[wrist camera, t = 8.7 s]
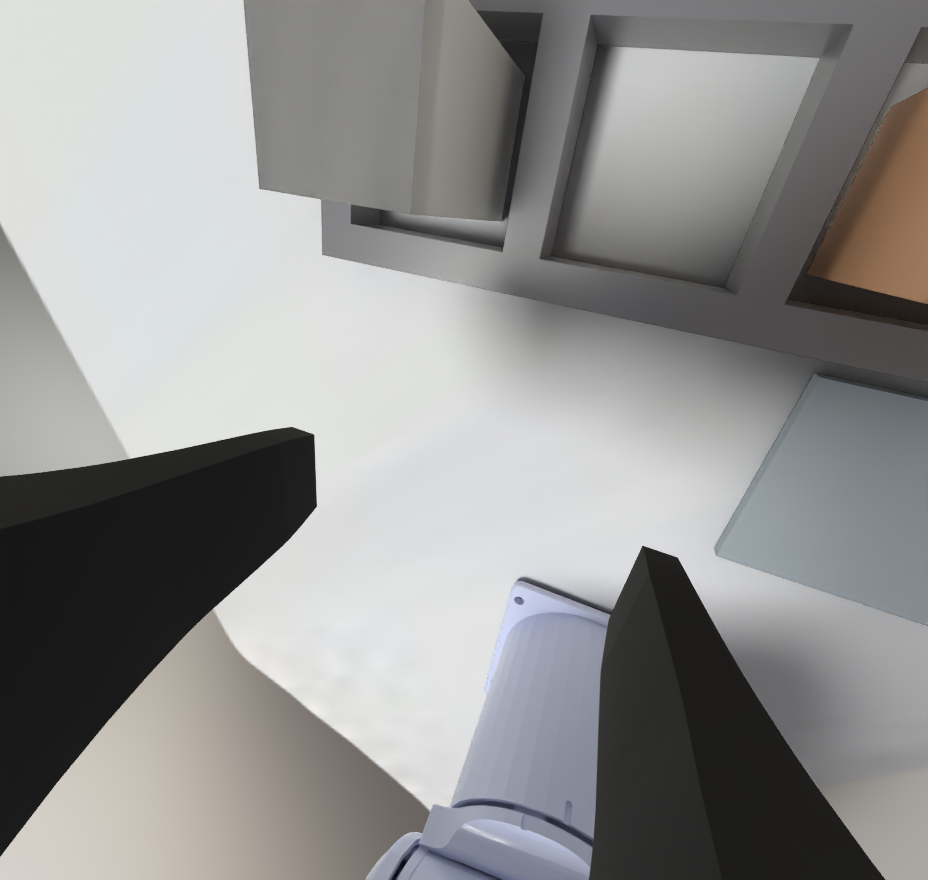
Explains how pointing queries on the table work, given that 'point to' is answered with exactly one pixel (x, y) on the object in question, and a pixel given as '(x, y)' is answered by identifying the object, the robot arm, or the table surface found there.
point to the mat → (843, 499)
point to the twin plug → (383, 104)
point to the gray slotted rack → (778, 214)
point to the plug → (885, 212)
